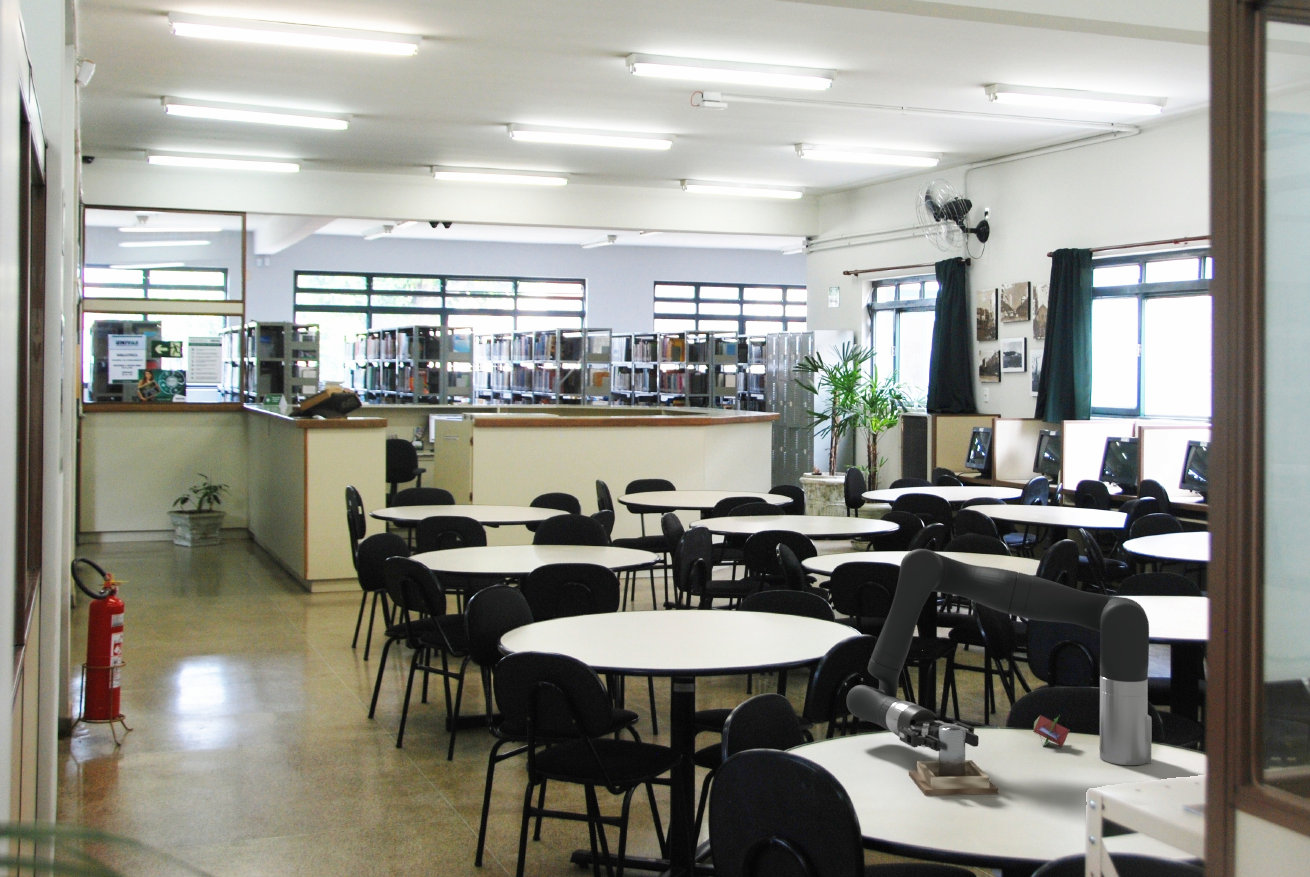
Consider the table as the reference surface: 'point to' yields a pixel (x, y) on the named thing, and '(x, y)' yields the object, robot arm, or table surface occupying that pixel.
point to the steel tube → (952, 751)
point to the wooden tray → (951, 780)
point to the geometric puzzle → (1050, 730)
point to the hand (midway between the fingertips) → (958, 743)
